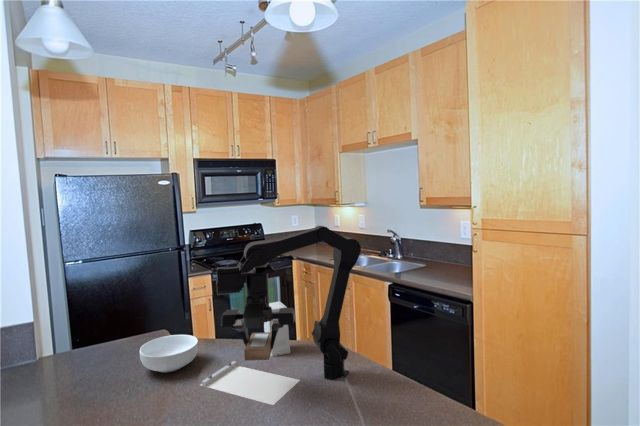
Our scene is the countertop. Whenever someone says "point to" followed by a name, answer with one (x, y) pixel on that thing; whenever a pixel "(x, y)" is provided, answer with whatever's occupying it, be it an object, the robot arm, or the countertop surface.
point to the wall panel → (250, 383)
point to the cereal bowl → (169, 352)
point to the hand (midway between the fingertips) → (260, 348)
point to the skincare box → (278, 333)
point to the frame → (258, 346)
